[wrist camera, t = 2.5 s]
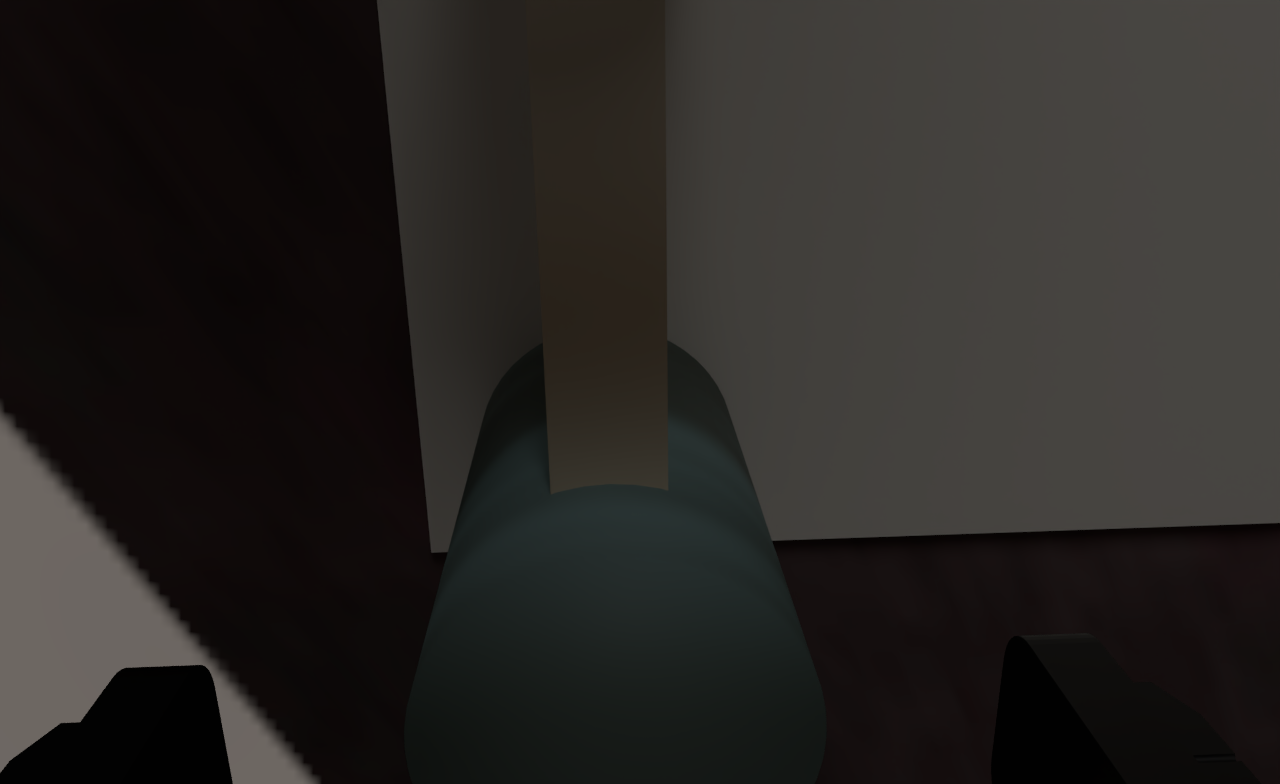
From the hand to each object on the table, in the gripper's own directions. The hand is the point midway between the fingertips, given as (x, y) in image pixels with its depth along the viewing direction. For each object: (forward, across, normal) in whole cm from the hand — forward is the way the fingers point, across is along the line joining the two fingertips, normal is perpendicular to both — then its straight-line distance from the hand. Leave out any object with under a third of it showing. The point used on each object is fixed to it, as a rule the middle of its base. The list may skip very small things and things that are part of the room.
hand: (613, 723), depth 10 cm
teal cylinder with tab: (+6, 0, -3) cm, 7 cm away
